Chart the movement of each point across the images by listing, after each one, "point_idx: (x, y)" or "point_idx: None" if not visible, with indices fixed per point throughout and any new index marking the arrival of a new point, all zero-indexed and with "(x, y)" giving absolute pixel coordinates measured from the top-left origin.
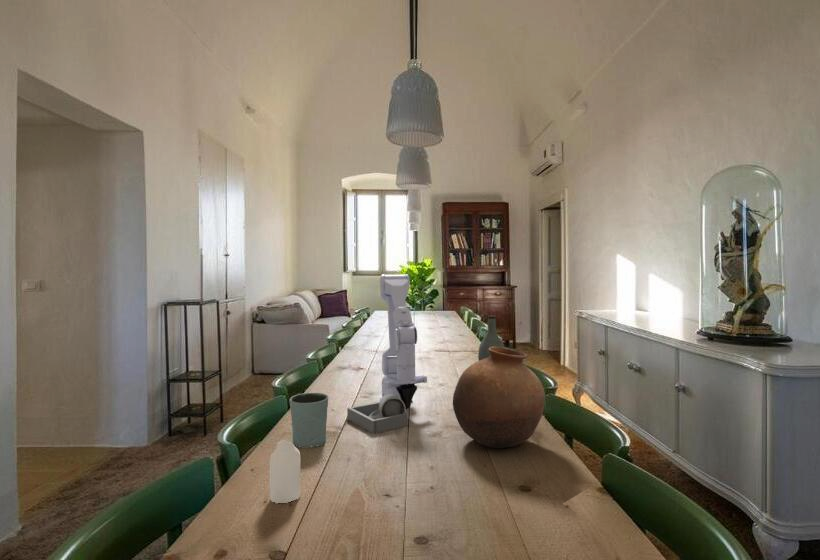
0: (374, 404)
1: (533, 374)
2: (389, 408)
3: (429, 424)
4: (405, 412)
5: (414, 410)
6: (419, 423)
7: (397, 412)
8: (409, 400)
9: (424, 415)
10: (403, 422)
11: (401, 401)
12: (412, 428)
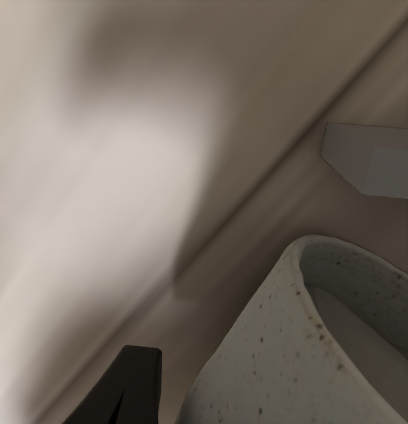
0: None
1: None
2: None
3: (124, 7)
4: (285, 256)
5: (35, 371)
6: (187, 107)
7: (329, 321)
8: (108, 420)
9: (26, 250)
10: (397, 132)
11: (382, 398)
12: (350, 21)
